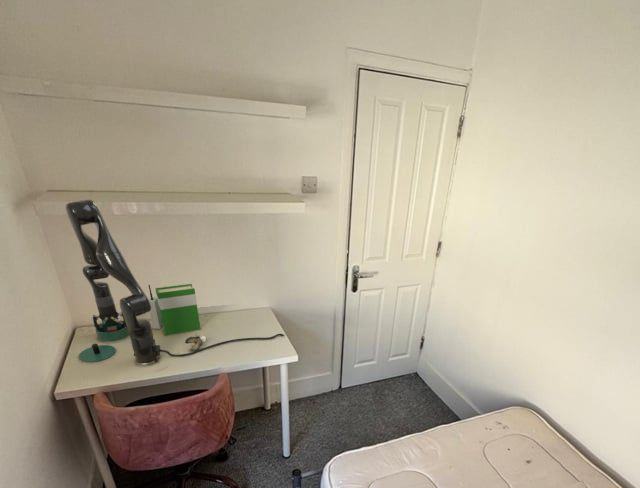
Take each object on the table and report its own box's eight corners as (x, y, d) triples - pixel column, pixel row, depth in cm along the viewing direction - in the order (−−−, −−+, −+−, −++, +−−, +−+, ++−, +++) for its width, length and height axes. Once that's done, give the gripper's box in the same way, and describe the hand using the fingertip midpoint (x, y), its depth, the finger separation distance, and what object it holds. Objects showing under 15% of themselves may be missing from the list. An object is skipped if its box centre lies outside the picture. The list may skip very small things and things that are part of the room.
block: (118, 332, 204) (116, 325, 202) (118, 335, 201) (116, 329, 199) (109, 333, 202) (107, 327, 200) (109, 337, 199) (107, 330, 197)
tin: (131, 328, 210) (129, 319, 207) (128, 340, 198) (125, 331, 196) (101, 330, 205) (98, 321, 202) (96, 343, 194) (93, 334, 191)
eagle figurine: (191, 339, 202) (181, 344, 194) (198, 329, 200) (188, 334, 192) (203, 348, 203) (193, 354, 195) (210, 339, 201) (200, 344, 192)
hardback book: (197, 323, 220) (191, 283, 207) (200, 329, 215) (194, 288, 202) (163, 329, 211) (155, 288, 199) (165, 335, 206) (157, 293, 194)
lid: (117, 345, 194) (114, 335, 191) (113, 361, 182) (110, 351, 179) (83, 349, 189) (79, 338, 186) (76, 365, 177) (72, 354, 174)
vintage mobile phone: (163, 325, 215) (155, 282, 202) (160, 329, 211) (151, 286, 198) (157, 324, 215) (147, 282, 202) (153, 329, 211) (143, 286, 198)
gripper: (88, 308, 186) (97, 338, 194) (122, 304, 193) (129, 332, 201) (88, 302, 191) (97, 331, 200) (121, 298, 198) (128, 326, 206)
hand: (113, 332), depth 200 cm, fingers open, 8 cm apart
